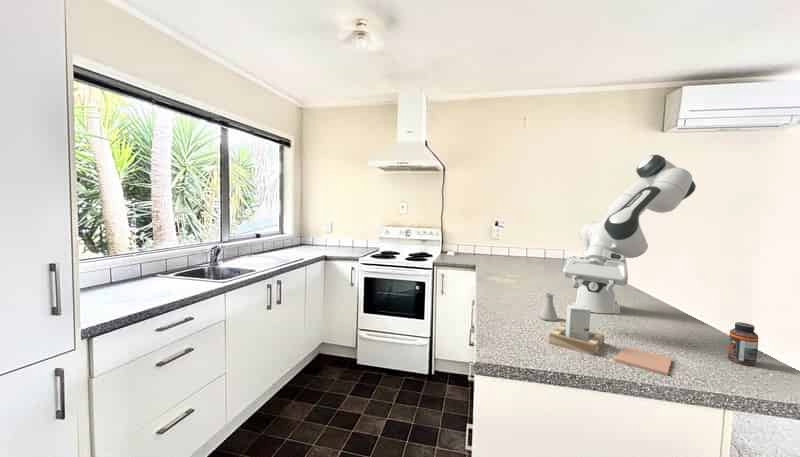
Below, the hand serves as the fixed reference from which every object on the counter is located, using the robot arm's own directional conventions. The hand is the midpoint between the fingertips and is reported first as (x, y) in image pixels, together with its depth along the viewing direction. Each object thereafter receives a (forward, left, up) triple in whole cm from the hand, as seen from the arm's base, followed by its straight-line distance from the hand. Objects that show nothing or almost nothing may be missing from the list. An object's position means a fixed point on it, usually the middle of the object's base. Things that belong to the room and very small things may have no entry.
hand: (589, 289), depth 118 cm
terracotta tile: (+12, +18, -16) cm, 27 cm away
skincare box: (+12, 0, -16) cm, 20 cm away
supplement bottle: (-9, +39, -16) cm, 43 cm away
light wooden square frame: (+12, 0, -16) cm, 20 cm away
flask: (-8, -16, -16) cm, 25 cm away
